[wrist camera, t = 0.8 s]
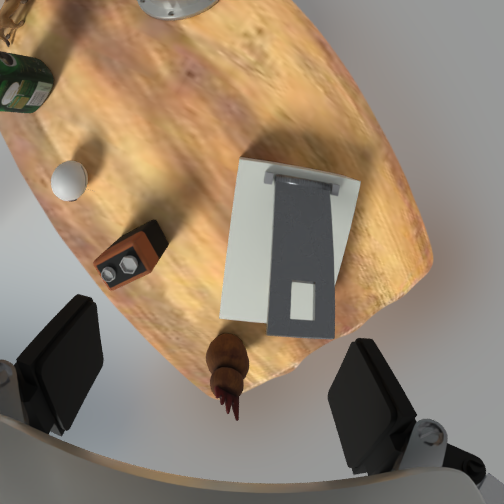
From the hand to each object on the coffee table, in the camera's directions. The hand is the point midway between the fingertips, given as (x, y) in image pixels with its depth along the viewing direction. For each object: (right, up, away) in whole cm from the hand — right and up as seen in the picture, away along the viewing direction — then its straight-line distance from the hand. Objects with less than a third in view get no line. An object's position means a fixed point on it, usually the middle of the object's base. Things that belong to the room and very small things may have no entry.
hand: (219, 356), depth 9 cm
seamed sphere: (-23, +14, +26) cm, 37 cm away
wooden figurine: (-3, -11, +36) cm, 38 cm away
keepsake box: (+5, +6, +30) cm, 31 cm away
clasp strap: (+6, +4, +18) cm, 19 cm away
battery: (-14, +5, +29) cm, 33 cm away
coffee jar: (-33, +30, +19) cm, 48 cm away
